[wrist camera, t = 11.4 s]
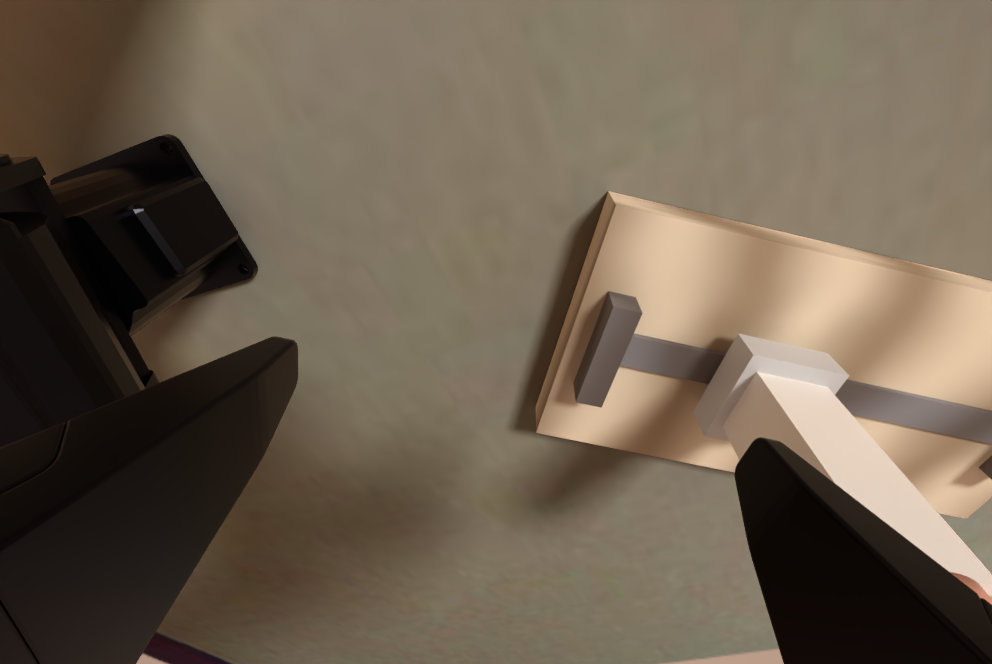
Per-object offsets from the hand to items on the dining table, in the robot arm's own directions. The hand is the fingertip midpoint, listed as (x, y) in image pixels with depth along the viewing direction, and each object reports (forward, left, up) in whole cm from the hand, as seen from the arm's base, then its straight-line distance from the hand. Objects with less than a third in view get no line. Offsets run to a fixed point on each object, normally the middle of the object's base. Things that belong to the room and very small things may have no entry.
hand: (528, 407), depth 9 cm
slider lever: (+8, -10, -10) cm, 16 cm away
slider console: (+11, -12, -13) cm, 20 cm away
